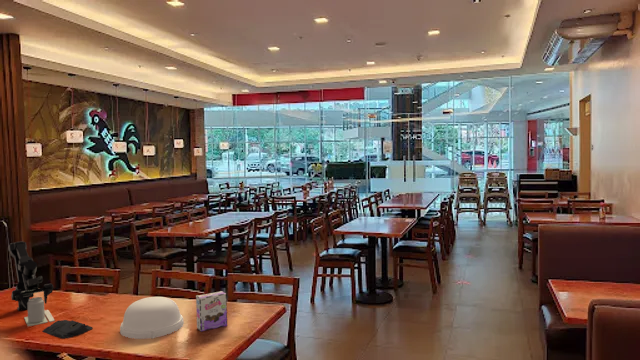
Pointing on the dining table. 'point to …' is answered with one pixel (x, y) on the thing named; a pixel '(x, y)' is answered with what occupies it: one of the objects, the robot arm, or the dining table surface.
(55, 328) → the dark slate chunk
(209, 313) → the candy box
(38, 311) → the can
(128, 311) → the dome cover
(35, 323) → the pad
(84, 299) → the dining table surface
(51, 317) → the strip
